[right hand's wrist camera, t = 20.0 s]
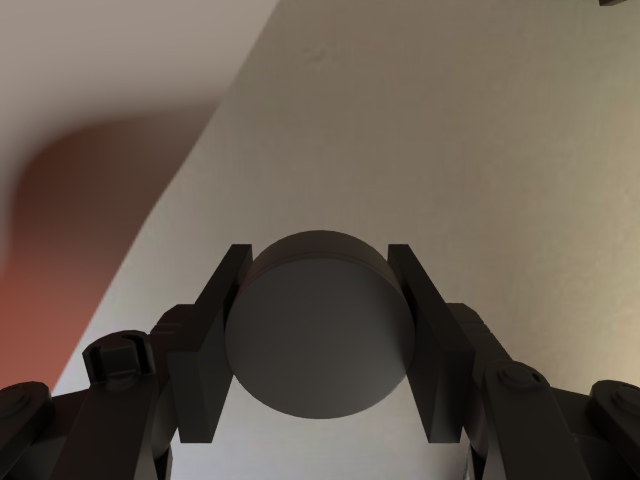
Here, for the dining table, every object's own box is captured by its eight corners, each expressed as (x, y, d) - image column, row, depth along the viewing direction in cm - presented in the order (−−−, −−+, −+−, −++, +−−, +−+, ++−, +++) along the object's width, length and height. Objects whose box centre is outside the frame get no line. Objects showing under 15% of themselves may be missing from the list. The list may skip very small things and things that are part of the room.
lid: (432, 281, 12) (456, 319, 10) (343, 391, 13) (347, 444, 11) (291, 197, 11) (284, 219, 9) (213, 327, 12) (191, 371, 10)
